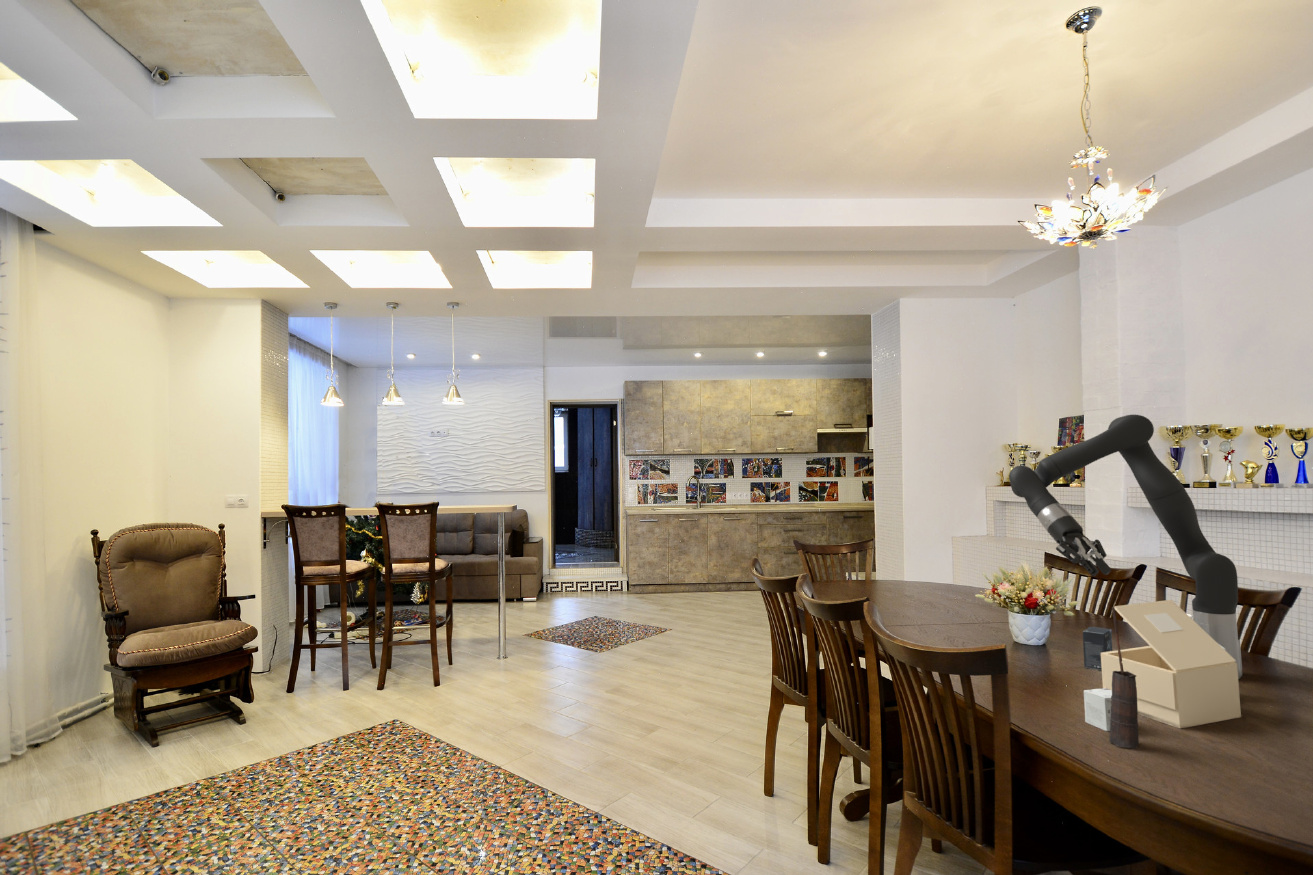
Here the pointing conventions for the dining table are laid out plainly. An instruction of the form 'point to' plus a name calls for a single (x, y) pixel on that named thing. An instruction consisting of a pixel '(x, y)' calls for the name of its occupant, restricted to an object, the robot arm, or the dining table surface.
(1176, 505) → the robot arm
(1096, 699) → the skincare box
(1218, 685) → the carton
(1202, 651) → the top flap
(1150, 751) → the dining table surface
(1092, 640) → the box
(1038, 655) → the dining table surface
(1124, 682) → the butter churn
